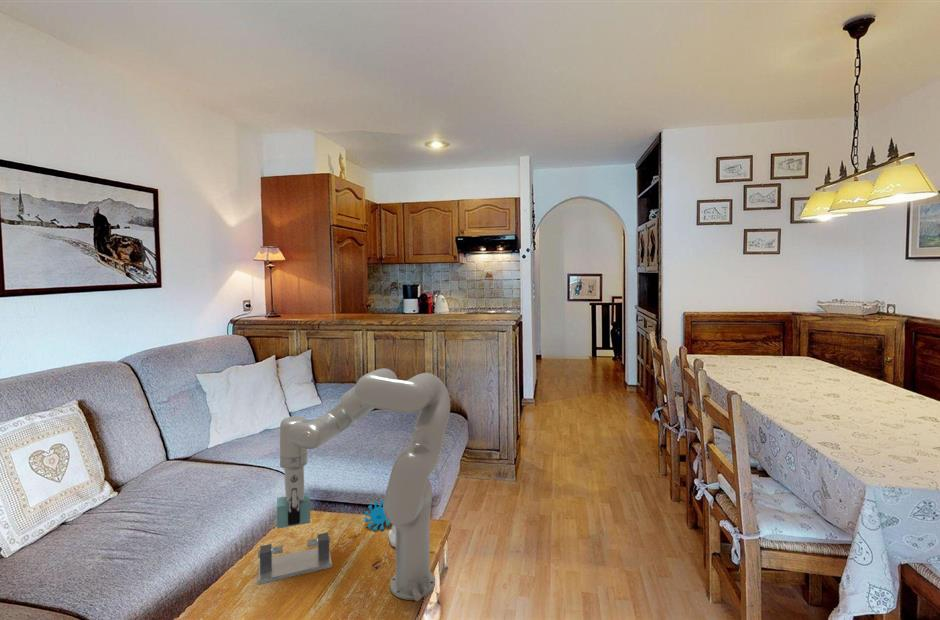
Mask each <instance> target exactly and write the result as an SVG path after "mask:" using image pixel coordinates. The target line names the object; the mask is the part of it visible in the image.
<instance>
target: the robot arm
mask: <svg viewBox="0 0 940 620" xmlns="http://www.w3.org/2000/svg"><path fill="white" fill-rule="evenodd" d="M374 409H377V410H381V411H382V410H384V411H388V412H389V411H390V412H395V413H400V414H401V413H402V414H411V415H412V414H416V413H419V414H418V416H417V419H416V421H415V424H414V428H413V432H412V436H411V439H410V441H409V443H408V445H407V446H406V447H405V448H404V450H403V451H402V452H400V454H398V456H397V458H395V461H394V462H393V466H392V469H391V472H390V476H389V480H388V484H387V487H386V490H385V494H384V497H383V501H384V503H383V505H382V507H383V510H384V514H385V517H386V519H387V520H388V522H389V523H390V525H394V526H396V547H395V573H394V575H393V576H392V577H391V579H390V582H389V588H390V592H391V593H392V594H393V595H394V596H395V597H396V598H399V599H401V600H402V599H403V600H405V601H406V600H408V601H409V600H410V601H411V600H412V601H414V600H415V601H416V602H418V601H420V600H421V599H422V598H424V597H426V596H428V595H429V594H431V592H433V590H434V589H435V586H436V578H435V575H434V574H433V572H431V570H430V566H431V564H430V563H431V561H430V560H431V559H430V557H431V556H430V552H431V551H430V550H431V549H430V548H431V547H430V545H431V543H430V541H431V540H430V539H431V537H430V535H431V533H430V532H431V510H432V509H431V508H432V501H433V486H432V482H431V481H430V479H429V477H430V476H431V474H433V472H434V470H435V469H436V468H437V464H438V462H439V458H440V454H441V449H442V446H443V441H444V439H445V434H446V430H447V427H448V422H449V417H450V414H451V398H450V393H449V390H448V389H447V386H446V385H445V383H444V382H443V381H442V380H441V378H439V377H438V376H437V375H435V374H433V373H430V372H423V373H419V374H416V375H414V376H412V377H410V378H409V379H407V380H402V379H399V378H398V377H397V375H396V374H395V371H393V370H392V369H389V368H378V369H375V370H372V371H369V372H368V373H366V374H364V375H363V376H360V378H359V379H358V380H357V382H356V384H355V385H354V386H353V387H351V388H350V389H348V390H347V391H345V392H344V393H343V394H342V395H341V397H340V402H339V403H338V404H336V405H335V406H334V407H332V408H331V409H329V411H327V412H326V413H324V414H322V415H321V416H318V417H316V418H315V419H313V420H311V421H308V420H307V419H306V418H305V417H303V416H299V415H298V416H297V415H296V416H295V415H294V416H288V417H285V418H283V419H282V420H281V421H280V424H279V467H280V468H281V469H283V470H284V471H283V472H284V473H283V474H284V491H285V497H286V500H287V502H288V503H289V511H288V525H294V524H299V523H300V509H299V499H300V500H302V501H303V500H304V494H305V466H306V465H308V450H316V449H318V448H319V447H321V446H322V445H324V444H326V443H327V442H329V441H330V440H332V439H334V438H336V437H337V436H338V435H339V434H340V433H342V432H343V431H345V430H346V429H347V428H349V427H350V426H351V425H353V424H354V423H355V422H357V421H359V420H361V419H362V418H363V417H365V416H366V415H367V414H369V413H371V412H372V411H373V410H374ZM297 497H298V499H297ZM291 498H292V500H291V501H290V499H291ZM291 503H292V505H291Z"/></svg>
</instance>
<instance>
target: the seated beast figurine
mask: <svg viewBox="0 0 940 620" xmlns="http://www.w3.org/2000/svg"><path fill="white" fill-rule="evenodd" d="M391 525H392V524H391ZM387 535H388V536H387V537H388V540H389V543H390V545H391V546H392V547H393V548H396V526H394V525H392V526H391V529H389V530H388V533H387Z"/></svg>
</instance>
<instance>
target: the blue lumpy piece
mask: <svg viewBox="0 0 940 620" xmlns="http://www.w3.org/2000/svg"><path fill="white" fill-rule="evenodd" d="M383 503H384V500H380V503H379V501H374V502H373V504H374V508H373V506H372V504H370V505H368V507H367V509H369V511H371V512H370V513H369V511H368V510H365V512H364V515H365V516H369V517H370V518H368V517H365V518H364V523H368V522H369V523H368V524H367V527H368V529H371V528H372V527H373V526H374V525H376V526H374V527H373V528H372V529H373V531H375V532H377V530H378V527H379V526H380V525H381V526H380V527H379V529H380V531H383V530H385V527H384V524H385V525H386V527H389V526H390V525H391V523H390V522H389V521H388V520H387V519H386V517H385V514H384V510H383ZM378 504H379V505H378ZM377 505H378V506H377ZM370 522H371V523H370ZM385 522H386V523H385Z"/></svg>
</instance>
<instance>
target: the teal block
mask: <svg viewBox="0 0 940 620" xmlns="http://www.w3.org/2000/svg"><path fill="white" fill-rule="evenodd" d="M297 499H298V497H297ZM291 500H292V498H291V499H290V501H291ZM291 505H292V503H291ZM299 509H300V523H299V524H294V525H288V511H289V503H288V502H287V500H286V496H281V497H279V496H278V497H276V525H277V526H276V530H277V529H283V528H289V527H295V526H301V525H305V524H310V523H311V497H310V493H309V492H307V493H304V500H303V501H302V500H300V499H299Z"/></svg>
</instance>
